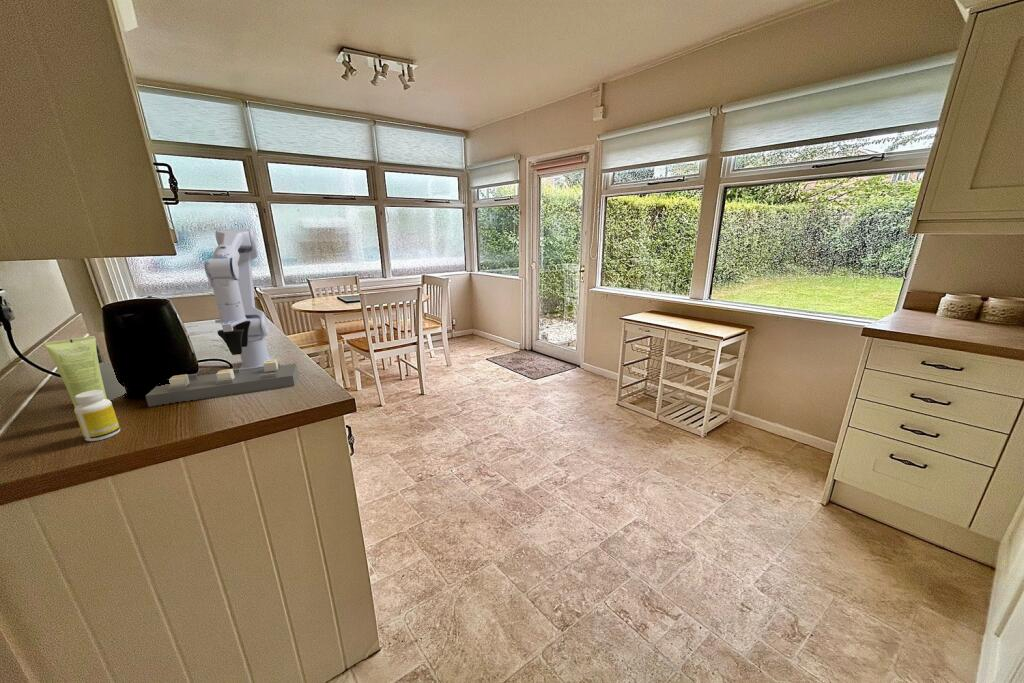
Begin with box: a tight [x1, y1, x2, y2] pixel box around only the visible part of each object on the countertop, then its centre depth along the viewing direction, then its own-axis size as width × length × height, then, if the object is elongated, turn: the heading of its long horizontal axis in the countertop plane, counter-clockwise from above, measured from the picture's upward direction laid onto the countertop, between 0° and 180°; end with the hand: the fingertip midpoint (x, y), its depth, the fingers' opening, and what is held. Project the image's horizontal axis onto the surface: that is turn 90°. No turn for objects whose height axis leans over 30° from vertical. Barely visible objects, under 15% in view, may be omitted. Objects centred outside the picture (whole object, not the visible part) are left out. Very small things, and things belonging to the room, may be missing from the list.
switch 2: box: [263, 358, 279, 372], centre depth 110 cm, size 3×3×3 cm
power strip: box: [145, 363, 299, 408], centre depth 105 cm, size 11×32×4 cm, turn 114°
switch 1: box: [168, 373, 190, 387], centre depth 99 cm, size 3×3×3 cm
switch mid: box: [215, 368, 235, 380], centre depth 102 cm, size 3×3×3 cm
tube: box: [43, 335, 107, 408], centre depth 86 cm, size 6×5×20 cm
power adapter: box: [99, 353, 127, 401], centre depth 98 cm, size 3×5×12 cm, turn 177°
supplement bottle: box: [73, 390, 121, 442], centre depth 80 cm, size 5×5×10 cm
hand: (240, 350), depth 107 cm, fingers open, 7 cm apart
